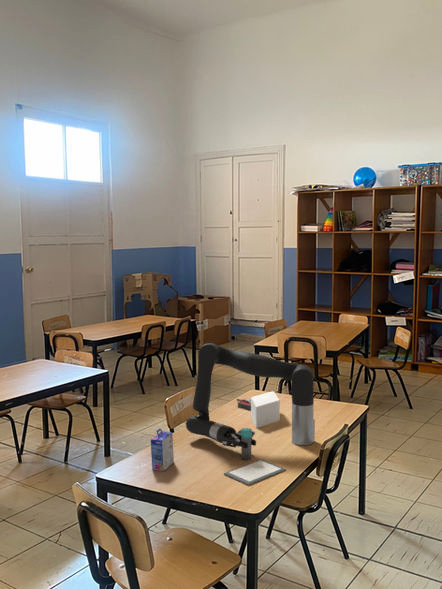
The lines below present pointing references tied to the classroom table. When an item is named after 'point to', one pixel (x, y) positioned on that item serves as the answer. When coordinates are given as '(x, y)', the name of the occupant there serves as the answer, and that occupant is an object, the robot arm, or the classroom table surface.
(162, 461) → the ink cartridge box
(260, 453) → the classroom table surface
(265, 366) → the robot arm
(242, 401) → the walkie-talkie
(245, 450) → the marker
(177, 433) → the classroom table surface
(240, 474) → the mat
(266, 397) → the white box
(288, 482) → the classroom table surface
